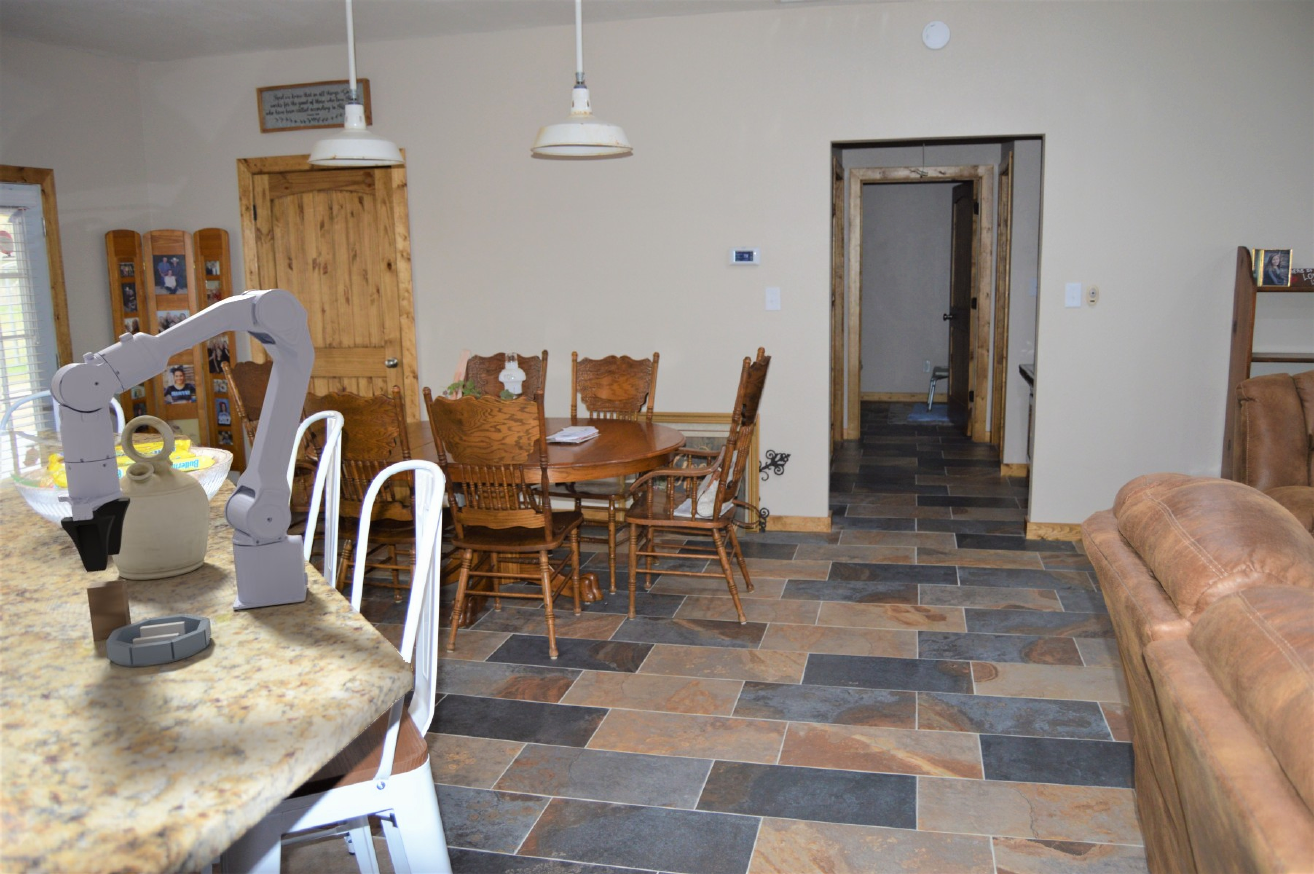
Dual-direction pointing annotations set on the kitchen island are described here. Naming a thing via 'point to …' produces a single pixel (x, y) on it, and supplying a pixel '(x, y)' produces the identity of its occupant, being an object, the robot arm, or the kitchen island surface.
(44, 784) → the kitchen island surface
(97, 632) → the wooden rectangular block
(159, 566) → the jug
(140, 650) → the blue-grey octagonal tray
